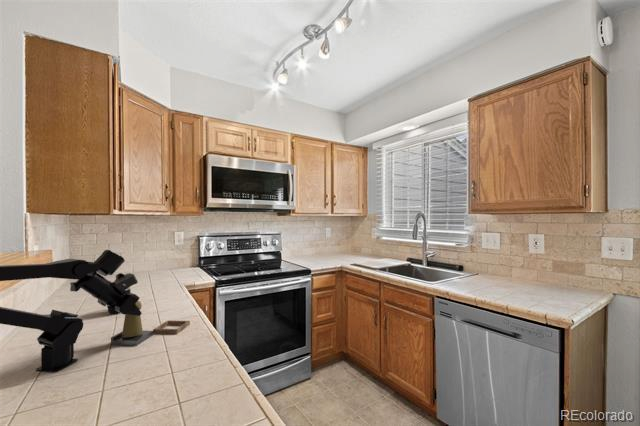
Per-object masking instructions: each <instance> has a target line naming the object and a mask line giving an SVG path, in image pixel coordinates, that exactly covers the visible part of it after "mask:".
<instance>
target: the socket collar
mask: <svg viewBox="0 0 640 426" xmlns="http://www.w3.org/2000/svg"><path fill="white" fill-rule="evenodd" d="M190 325H191V321H190V320H166V321H165V322H163V323H161V324H160V325H158V326H156V327H154V328H153V329H152V331H153V335H155V334H157V335H158V334H159V335H161V334H162V335H178V334H179V333H180V332H181V331H183V330H185V329H186V328H188V327H189V326H190ZM168 326H178V327H177V328H166V327H168Z"/></svg>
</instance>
